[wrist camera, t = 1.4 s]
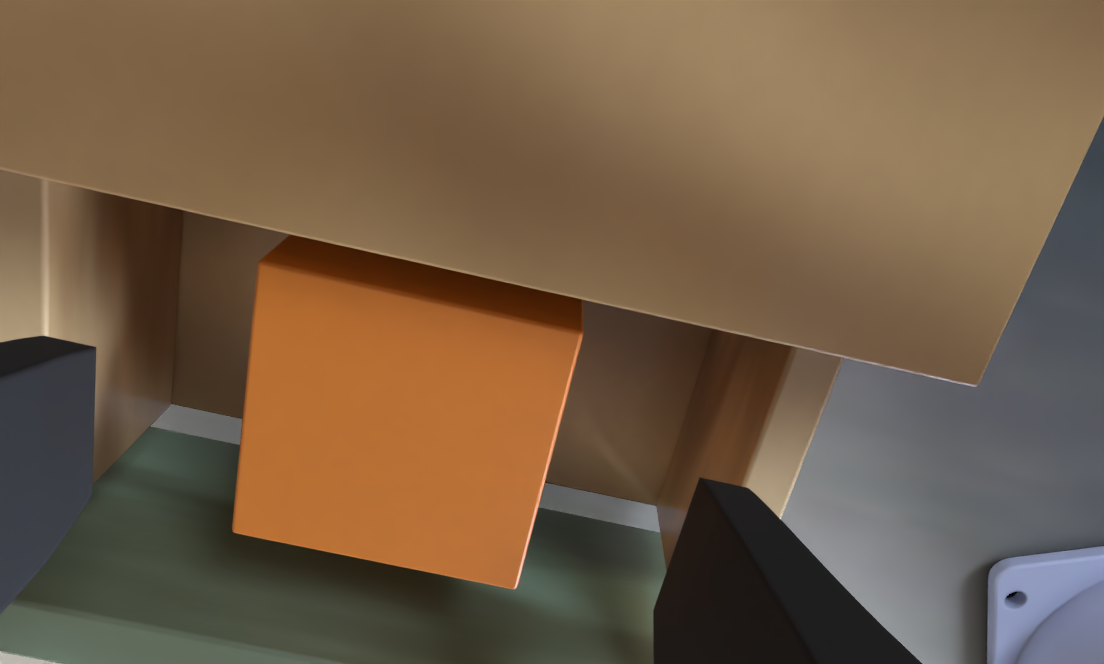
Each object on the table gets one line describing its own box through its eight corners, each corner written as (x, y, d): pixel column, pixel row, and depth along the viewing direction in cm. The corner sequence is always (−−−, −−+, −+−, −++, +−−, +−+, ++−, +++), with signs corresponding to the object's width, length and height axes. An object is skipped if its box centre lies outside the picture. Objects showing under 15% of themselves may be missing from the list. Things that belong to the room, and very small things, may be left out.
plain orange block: (531, 447, 18) (516, 592, 13) (315, 401, 17) (229, 534, 13) (583, 241, 16) (584, 332, 12) (343, 187, 16) (256, 260, 11)
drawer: (639, 704, 22) (659, 939, 16) (118, 603, 21) (-40, 813, 16) (872, 44, 16) (1027, 71, 10) (145, -136, 15) (-101, -207, 9)
